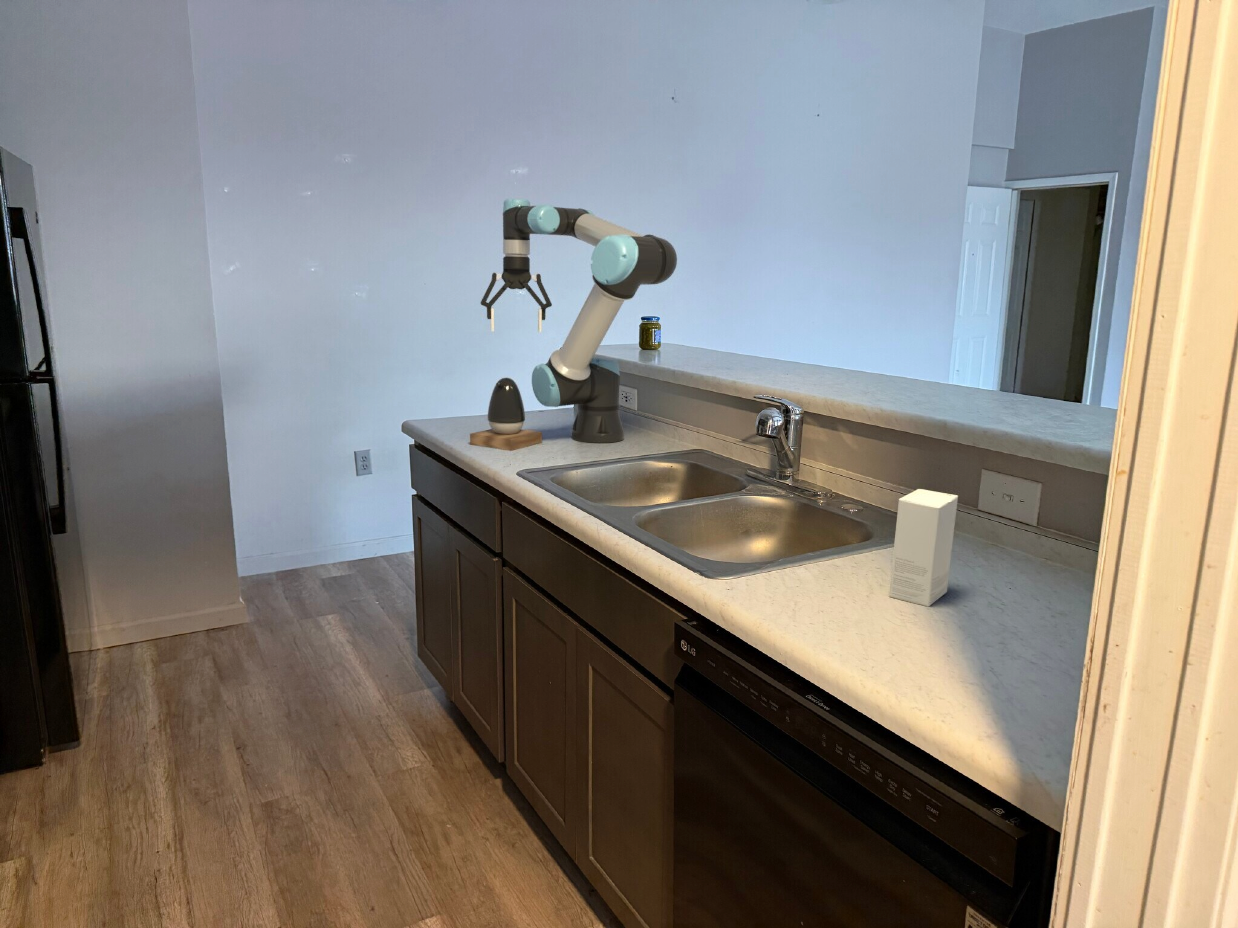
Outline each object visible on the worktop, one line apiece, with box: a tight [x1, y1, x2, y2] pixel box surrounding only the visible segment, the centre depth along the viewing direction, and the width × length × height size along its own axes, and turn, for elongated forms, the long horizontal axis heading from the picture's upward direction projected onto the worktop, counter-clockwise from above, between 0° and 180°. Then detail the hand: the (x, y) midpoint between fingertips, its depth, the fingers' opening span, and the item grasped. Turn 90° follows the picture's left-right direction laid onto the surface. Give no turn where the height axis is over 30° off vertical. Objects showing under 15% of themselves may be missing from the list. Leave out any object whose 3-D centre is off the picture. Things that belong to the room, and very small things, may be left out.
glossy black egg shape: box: [487, 377, 526, 434], centre depth 243 cm, size 10×10×15 cm
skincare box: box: [888, 488, 959, 607], centre depth 134 cm, size 8×7×16 cm
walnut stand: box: [469, 428, 543, 451], centre depth 245 cm, size 14×14×3 cm
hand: (516, 331), depth 257 cm, fingers open, 13 cm apart
